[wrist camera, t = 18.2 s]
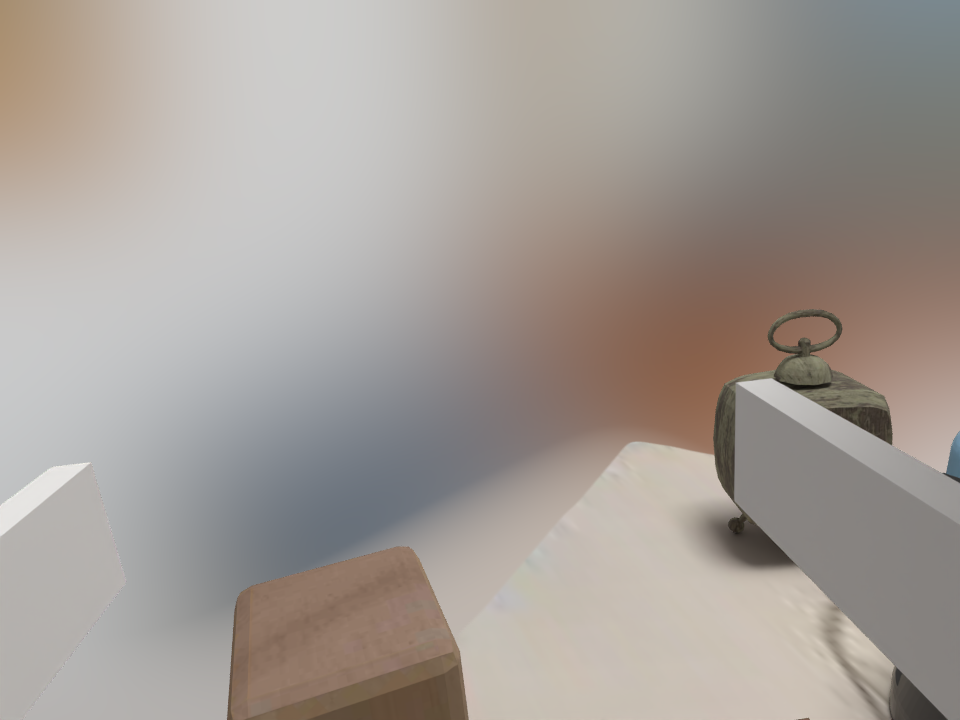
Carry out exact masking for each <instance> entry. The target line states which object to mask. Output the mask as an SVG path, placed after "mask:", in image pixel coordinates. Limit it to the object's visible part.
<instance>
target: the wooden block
mask: <svg viewBox="0 0 960 720" xmlns="http://www.w3.org/2000/svg"><path fill="white" fill-rule="evenodd" d="M227 716H228V717H227V720H469V719H468V711H467V703H466V696H465V688H464V680H463V673H462V665H461V657H460V651H459V648H458V646H457V644H456V642H455V639H454V637H453V635H452V633H451V630H450V628H449V626H448V623H447V621H446V619H445V617H444V615H443V612H442V610H441V608H440V605H439V603H438V601H437V599H436V596H435V594H434V592H433V589H432V587H431V585H430V583H429V580H428V578H427V576H426V574H425V571H424V569H423V567H422V564H421V562H420V560H419V558H418V557H417V555H416V554H415V552H414V551H413V550H412V549H410V548H409V547H394V548H390V549H387V550H383V551H379V552H375V553H372V554H368V555H364V556H361V557H357V558H353V559H349V560H346V561H342V562H338V563H334V564H331V565H327V566H323V567H320V568H316V569H312V570H308V571H305V572H301V573H297V574H294V575H290V576H286V577H283V578H279V579H275V580H271V581H268V582H264V583H260V584H256V585H253V586H251V587H249V588H247V589H246V590H244V591H242V592H241V593H240V595H239V596H238V598H237V602H236V606H235V612H234V627H233V642H232V656H231V672H230V685H229V700H228V715H227Z"/></svg>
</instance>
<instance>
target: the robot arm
mask: <svg viewBox="0 0 960 720" xmlns="http://www.w3.org/2000/svg"><path fill="white" fill-rule="evenodd" d="M734 501H735V502H736V503H737V504H738V505H739V506H740V507H741V508H742V509H743V511H744V512H745V513H746V514H747V515H748V516H749V517H750V518H751V519H752V520H753V521H754V522H755V523H756V524H757V525H758V526H759V527H760V528H761V529H762V530H763V531H764V532H765V533H766V534H767V535H768V536H769V537H770V538H771V539H772V540H773V541H774V542H775V543H776V544H777V545H778V546H779V547H780V548H781V549H782V550H783V551H784V552H785V553H786V554H787V556H788V557H789V558H790V559H791V560H792V561H793V562H794V563H795V564H796V565H797V566H798V567H799V568H800V569H801V570H802V571H803V572H804V573H805V574H806V575H807V576H808V577H809V578H810V579H811V580H812V581H813V582H814V583H815V584H816V585H817V586H818V587H819V588H820V589H821V590H822V591H823V592H824V593H825V594H826V595H827V596H828V597H829V598H830V600H831V601H832V602H833V603H834V604H835V605H836V606H837V607H838V608H839V609H840V610H841V611H842V612H843V613H844V614H845V615H846V616H847V617H848V618H849V619H850V620H851V621H852V622H853V623H854V624H855V625H856V626H857V627H858V628H859V629H860V630H861V631H862V632H863V633H864V634H865V635H866V636H867V637H868V638H869V639H870V640H871V641H872V642H873V643H874V645H875V646H876V647H877V648H878V649H879V650H880V651H881V652H882V653H883V654H884V655H885V656H886V657H887V658H888V659H889V660H890V661H891V662H892V663H893V664H894V665H895V667H894V670H893V673H892V681H891V691H890V711H891V715H892V718H893V720H960V431H959V432H958V434H957V435H956V437H955V438H954V440H953V443H952V446H951V451H950V456H949V461H948V466H947V472H946V473H941V472H939V471H937V470H935V469H933V468H932V467H930V466H928V465H926V464H924V463H922V462H921V461H919V460H917V459H915V458H914V457H911V456H910V455H908V454H906V453H905V452H903V451H901V450H899V449H897V448H896V447H894V446H892V445H890V444H888V443H887V442H885V441H883V440H881V439H880V438H878V437H876V436H874V435H872V434H871V433H869V432H867V431H865V430H863V429H862V428H860V427H858V426H856V425H854V424H853V423H851V422H849V421H847V420H845V419H844V418H842V417H840V416H838V415H836V414H835V413H833V412H831V411H829V410H827V409H826V408H824V407H822V406H820V405H818V404H817V403H815V402H813V401H811V400H809V399H808V398H806V397H804V396H802V395H800V394H799V393H797V392H795V391H793V390H791V389H790V388H788V387H786V386H784V385H783V384H781V383H779V382H777V381H775V380H774V379H772V378H770V379H761V380H753V381H745V382H737V383H736V404H735V477H734ZM125 584H126V578H125V575H124V572H123V569H122V565H121V561H120V558H119V555H118V552H117V548H116V545H115V541H114V538H113V535H112V531H111V528H110V524H109V521H108V518H107V514H106V511H105V508H104V504H103V501H102V497H101V494H100V491H99V487H98V484H97V481H96V478H95V474H94V470H93V467H92V464H91V462H89V463H81V464H73V465H65V466H57V467H51V468H49V469H48V470H47V471H46V472H44V473H43V474H41V475H40V476H39V477H37V478H36V479H35V480H33V481H32V482H31V483H29V484H28V485H27V486H25V487H24V488H23V489H22V490H20V491H19V492H17V493H16V494H15V495H13V496H12V497H11V498H9V499H8V500H7V501H5V502H4V503H3V504H1V505H0V720H22V719H23V718H24V717H25V715H26V714H27V713H28V711H29V710H30V709H31V708H32V706H33V705H34V704H35V702H36V701H37V700H38V698H39V697H40V696H41V694H42V693H43V692H44V690H45V689H46V688H47V686H48V685H49V684H50V683H51V681H52V680H53V679H54V677H55V676H56V675H57V673H58V672H59V671H60V669H61V668H62V667H63V665H64V664H65V662H66V661H67V660H68V659H69V657H70V656H71V655H72V653H73V652H74V651H75V649H76V648H77V647H78V646H79V644H80V643H81V642H82V640H83V639H84V637H85V636H86V635H87V634H88V632H89V631H90V630H91V628H92V627H93V626H94V624H95V623H96V622H97V621H98V619H99V618H100V616H101V615H102V614H103V613H104V611H105V610H106V609H107V607H108V606H109V605H110V603H111V602H112V601H113V599H114V598H115V597H116V595H117V594H118V593H119V592H120V590H121V589H122V588H123V586H124V585H125Z"/></svg>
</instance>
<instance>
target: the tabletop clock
mask: <svg viewBox="0 0 960 720" xmlns="http://www.w3.org/2000/svg"><path fill="white" fill-rule="evenodd" d="M810 316H817V317H824V318H828V319H829V320H831V321H832V322H834V324H835V325H836V327H837V331H836V334H835V336H833V337H832V338H830V339H829V340H828V341H825V342H822V343H819V344H815V345H810V340H809V339H807V338H801V339H800V340H799V342H798V346H793V347H789V346H784V345H780V344H778V343H776V342H775V341H774V339H773V334H774V332H775V330H776V329H777V328H778V327H779V326H780V325H781V324H782V323H784V322H786V321H789V320H791V319H796V318H800V317H810ZM841 333H842V324H841V322H840V320H839V319H838V318H837V317H836V316H835V315H833V314H832V313H829V312H827V311H824V310H814V309H810V310H799V311H795V312H791V313H788V314H786V315H784V316H782V317H780V318H779V319H778V320H777V321H776V322H774V323H773V324H772V326H771V328H770V330H769V333H768V340H769V342H770V344H771V345H772V346H773V347H775V348H776V349H777V350H779V351H783V352H786V353H795V355H791V356H788V357H786V358H785V359H784V360H783V361H782V362H781V363H780V365H779V366H778V367H777V369H776V370H774V371H767V372H761V373H755V374H749V375H744V376H741V377H738V378H735V379H734V380H731V381H729V382H727V383H725V384H724V386H723V388H722V391H721V393H720V395H719V398H718V402H717V407H716V414H715V425H714V437H713V440H714V452H715V465H716V470H717V474H718V478H719V480H720V482H721V485H722V487H723V489H724V490H725V491H726V493H727V494H728V495H729V496H730V498H731V499H732V500H733V502H734V503H735V504H736V506H737V507H738V508H739V509H740V511H741V512H742V513H743V514H742V515H741V517H740V518H732V519H730V521H729V523H728V526H729V528H730V530H731V531H733V532H736V533H738V532H741V531H742V530H743V528H744V523H743V522H744V521H745V520H748V521H749V522H750V523H751V524H754V525H757V524H756V523H755V522H754V521H753V520H752V519H751V518H750V517H749V516H748V515H747V514H746V513H745V512H744V511H743V509H742V508H741V507H740V506H739V505H738V504H737V503H736V502H735V501H734V477H735V404H736V383H737V382H745V381H753V380H761V379H770V378H772V379H774V380H775V381H777V382H779V383H781V384H783V385H784V386H786V387H788V388H790V389H791V390H793V391H795V392H797V393H799V394H800V395H802V396H804V397H806V398H808V399H809V400H811V401H813V402H815V403H817V404H818V405H820V406H822V407H824V408H826V409H827V410H829V411H831V412H833V413H835V414H836V415H838V416H840V417H842V418H844V419H845V420H847V421H849V422H851V423H853V424H854V425H856V426H858V427H860V428H862V429H863V430H865V431H867V432H869V433H871V434H872V435H874V436H876V437H878V438H880V439H881V440H883V441H885V442H887V443H888V444H890V445H892V425H891V417H890V411H889V407H888V404H887V402H886V400H885V397H884V396H883V395H881V394H879V393H878V392H875V391H874V390H872V389H870V388H868V387H866V386H865V385H863V384H861V383H859V382H857V381H855V380H854V379H852V378H850V377H848V376H846V375H844V374H843V373H840V372H837V371H834V370H831V369H830V367H829V365H828V364H827V363H826V362H825V361H824V360H823V359H821V358H820V357H818V356H815V355H810V353H811V352H815V351H819V350H822V349H824V348H827V347H829V346H831V345H832V344H833V343H834V342H835V341H837V340H838V338H839V337H840V335H841Z"/></svg>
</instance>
